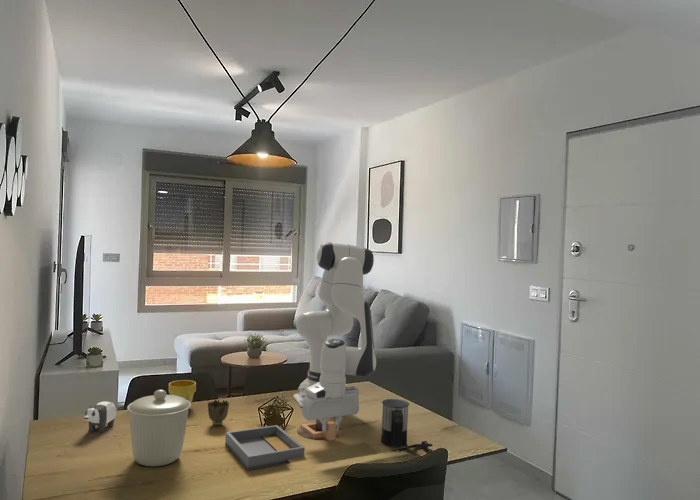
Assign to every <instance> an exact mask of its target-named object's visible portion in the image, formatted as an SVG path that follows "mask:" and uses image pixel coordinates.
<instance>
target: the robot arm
mask: <svg viewBox="0 0 700 500" xmlns="http://www.w3.org/2000/svg"><path fill="white" fill-rule="evenodd" d="M374 261H375V260H374V254H373V251H372V250H370V249H368V248H366V247H360V246H357V245H353V244H346V243H332V242H331V241H330V242H323V243H322V244H320V246H319V248H318V250H317V253H316V262H317V265H318V266H319V267H320V268H321V269H323V273H322V277H321V281H320V285H319V290H318V297H319V299H320V300H321V302H322V303H323V304H325V305H326V306H325V309H323V310H310V311H307V312H303V313H300V314H299V316H298V317H297V319H296V322H295V327H296V331H297V333H298V334H299V336H301V338H303V339H304V341H305V342H306V343H307V346H308V350H309V368H308V369H307V376H306V379H304V380H303V381H302V382H301V383H300V384H299V386H298V388H297V393H295V394H293V399H294V400H295V401H296V403H298V405H299V407H302V409H301V415H302V417H303V418H304V419H305V420H307V421H316V419H320V422H321V423H322V430H323V431H328V428H329V426H328V425H327V424H325V422H324V421H327V419H330V418H336V419H335V421H334V422H335V423H336V429H339V428H340V424H341V422H342V420H343V416H344V417H345V416H351V415H357V414H358V413H359V411H360V401H359V394H360V390H359V388H358V387H356V386H354V385H353V386H347V385H346V384H347V382H346V381H347V379H346V375H349V376H356V377H360V378H364V379H365V378H368V377H369V376H371V375H372V374H374V372H376V368H377V367H376V366H377V357H376V353H375V343H374V332H373V322H372V321H373V320H372V311H371V307H370V304H369V302H367V301H365V298H364V295H363V287H364V276H365V275H368V274H369V273H370V272H371V271H372V269H373V267H374V263H375V262H374ZM353 317H354V318H355V319H356V320H358V322H359V325H360V338H361V346H348V345H346V342H345V341H344V340H343V339H338V338H331V337H340V336H343V335H347V334H349V333H351V332H352V330H353V327H354V318H353ZM328 338H331V339H328Z"/></svg>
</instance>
